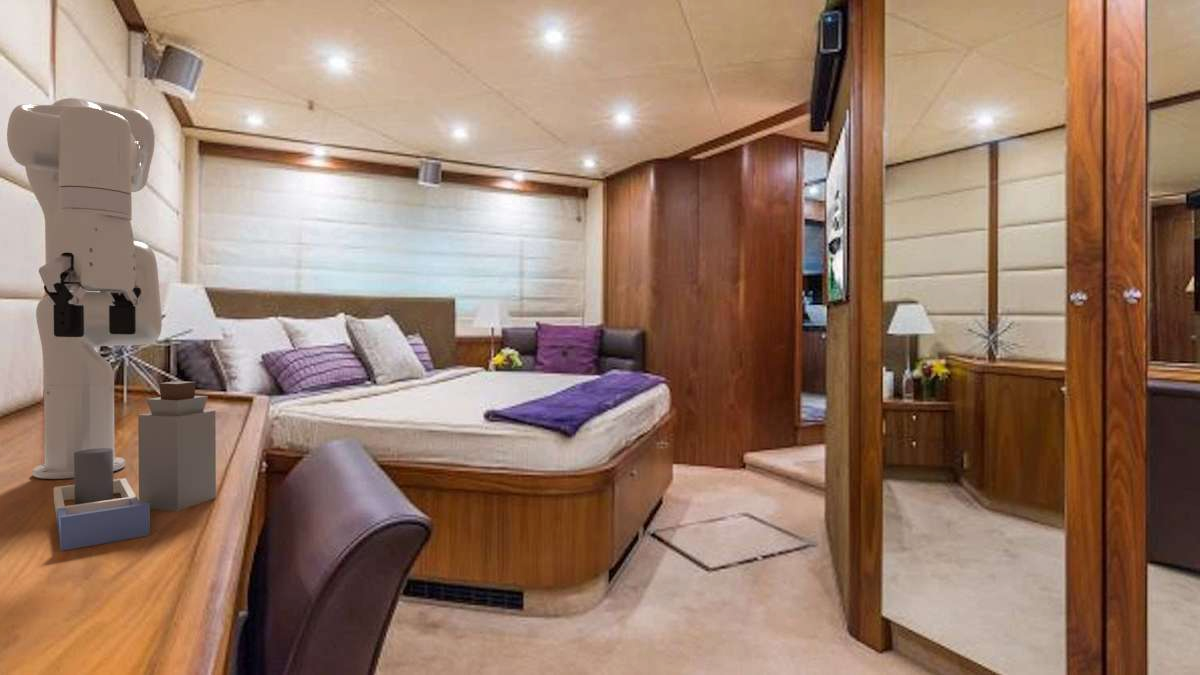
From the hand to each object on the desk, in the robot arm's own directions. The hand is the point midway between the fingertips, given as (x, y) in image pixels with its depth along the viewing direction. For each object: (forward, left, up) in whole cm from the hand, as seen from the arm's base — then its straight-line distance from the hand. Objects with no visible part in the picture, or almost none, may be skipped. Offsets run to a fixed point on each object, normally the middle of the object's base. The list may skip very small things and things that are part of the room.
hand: (97, 335), depth 84 cm
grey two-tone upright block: (-9, 0, -25) cm, 27 cm away
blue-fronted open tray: (-3, 0, -25) cm, 25 cm away
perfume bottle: (-4, +10, -25) cm, 28 cm away
